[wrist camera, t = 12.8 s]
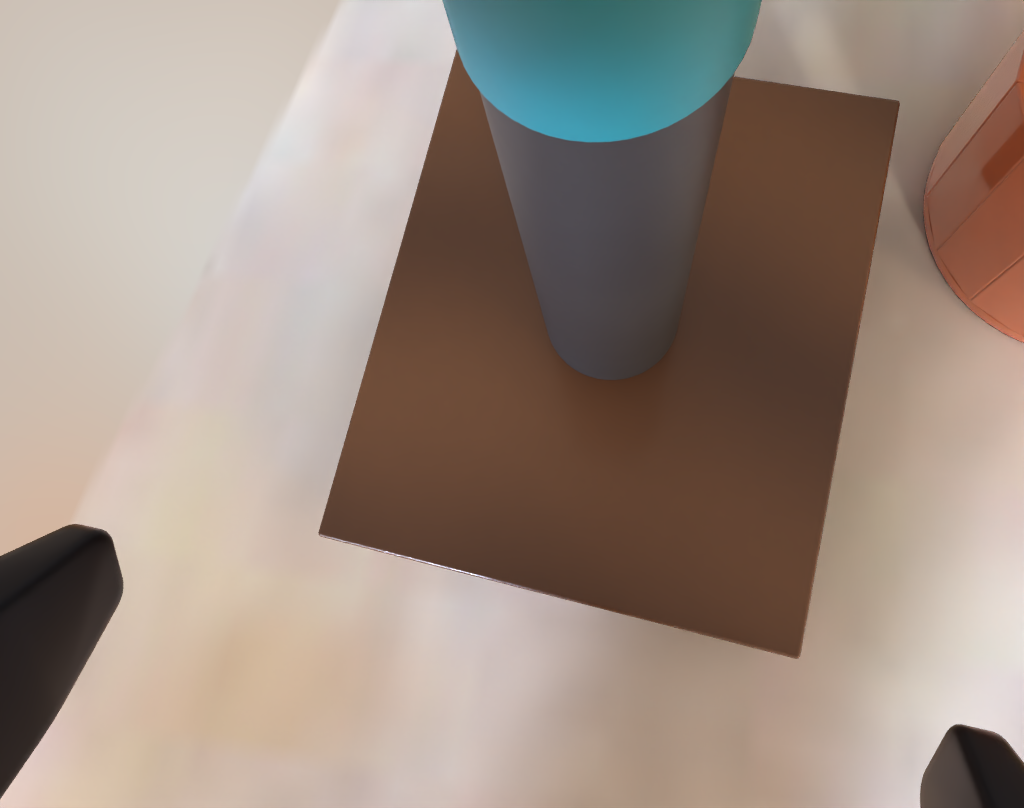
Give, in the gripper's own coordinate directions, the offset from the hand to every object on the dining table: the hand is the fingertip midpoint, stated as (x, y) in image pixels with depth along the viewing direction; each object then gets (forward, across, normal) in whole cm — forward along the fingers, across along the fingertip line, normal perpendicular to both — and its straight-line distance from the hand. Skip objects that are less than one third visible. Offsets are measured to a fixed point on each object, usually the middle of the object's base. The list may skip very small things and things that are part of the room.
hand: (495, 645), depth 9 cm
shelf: (+13, 0, +4) cm, 14 cm away
